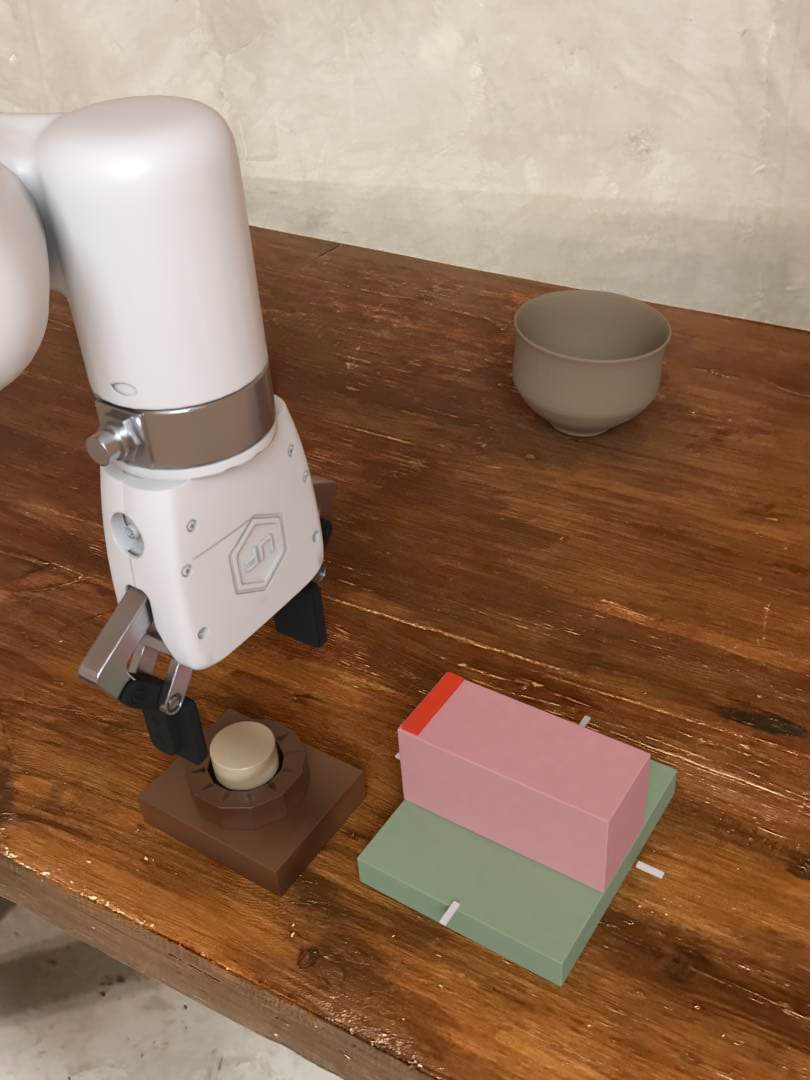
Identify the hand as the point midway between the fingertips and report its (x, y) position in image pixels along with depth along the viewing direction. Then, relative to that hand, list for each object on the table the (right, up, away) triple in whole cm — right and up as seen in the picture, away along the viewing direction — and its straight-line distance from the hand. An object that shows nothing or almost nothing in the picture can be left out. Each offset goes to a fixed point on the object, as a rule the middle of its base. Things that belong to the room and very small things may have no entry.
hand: (244, 691), depth 59 cm
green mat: (+15, -8, +3) cm, 17 cm away
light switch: (0, -8, +6) cm, 10 cm away
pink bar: (+15, -7, +2) cm, 16 cm away
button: (0, -5, +4) cm, 6 cm away
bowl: (+24, +18, +37) cm, 48 cm away
